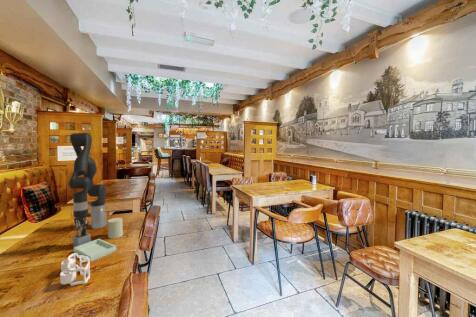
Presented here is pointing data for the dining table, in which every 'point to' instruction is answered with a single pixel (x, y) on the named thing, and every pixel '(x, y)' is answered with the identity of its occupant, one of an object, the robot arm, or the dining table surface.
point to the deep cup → (81, 240)
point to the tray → (95, 249)
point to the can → (115, 228)
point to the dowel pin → (79, 233)
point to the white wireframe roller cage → (74, 270)
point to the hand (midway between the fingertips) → (81, 234)
